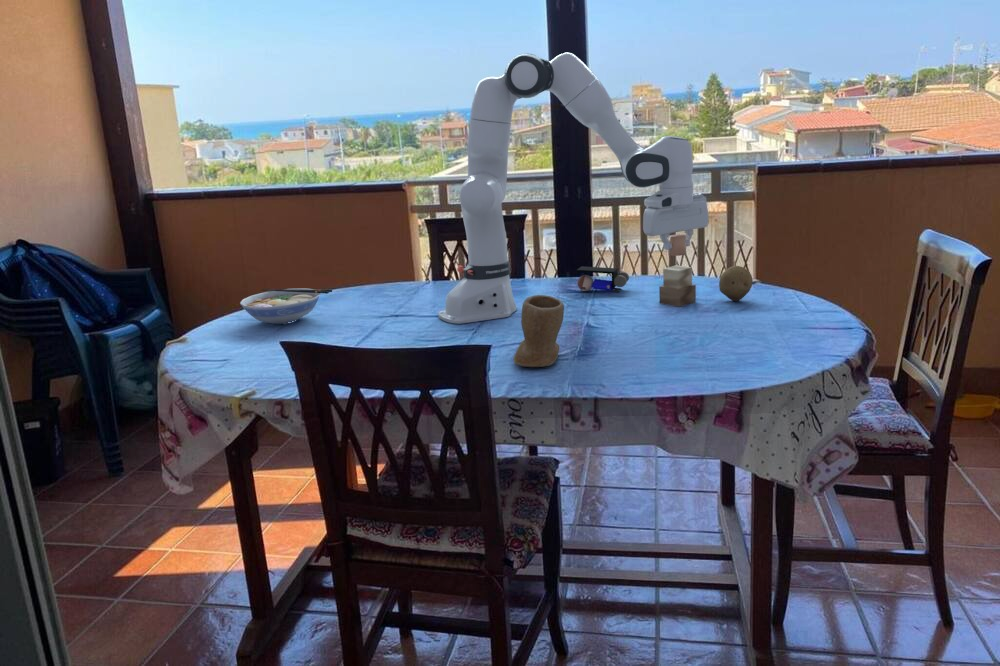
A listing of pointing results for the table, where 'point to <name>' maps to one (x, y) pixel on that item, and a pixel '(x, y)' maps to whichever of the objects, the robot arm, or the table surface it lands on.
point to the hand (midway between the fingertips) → (676, 247)
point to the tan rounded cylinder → (677, 245)
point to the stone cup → (539, 331)
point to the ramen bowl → (282, 304)
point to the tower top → (677, 276)
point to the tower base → (677, 295)
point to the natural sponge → (735, 282)
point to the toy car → (617, 280)
